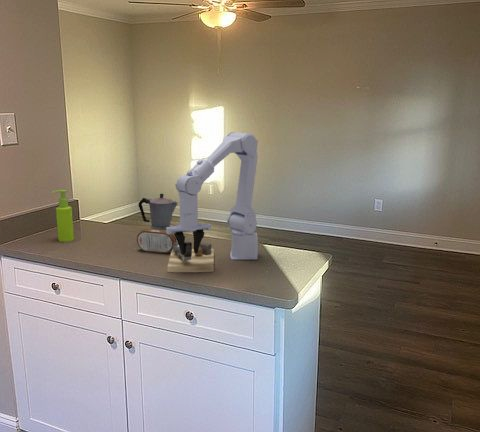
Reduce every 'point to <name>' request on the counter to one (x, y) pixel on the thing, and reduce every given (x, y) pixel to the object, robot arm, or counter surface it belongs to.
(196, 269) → the light wooden flat block
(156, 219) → the moka pot
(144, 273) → the counter surface
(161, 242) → the tin
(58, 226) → the soap dispenser
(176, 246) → the lever
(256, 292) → the counter surface
